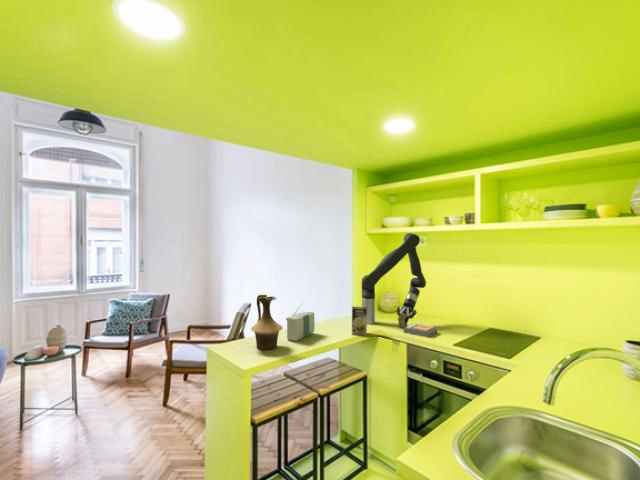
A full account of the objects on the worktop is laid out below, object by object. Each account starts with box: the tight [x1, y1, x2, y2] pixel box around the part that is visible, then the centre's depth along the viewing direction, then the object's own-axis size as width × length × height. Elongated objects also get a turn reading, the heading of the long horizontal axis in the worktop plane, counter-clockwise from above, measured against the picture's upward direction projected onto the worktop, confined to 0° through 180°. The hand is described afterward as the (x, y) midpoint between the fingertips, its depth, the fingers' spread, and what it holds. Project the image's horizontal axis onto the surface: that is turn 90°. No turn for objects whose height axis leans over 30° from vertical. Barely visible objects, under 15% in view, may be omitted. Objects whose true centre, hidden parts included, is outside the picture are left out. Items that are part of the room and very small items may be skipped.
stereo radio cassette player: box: [285, 302, 316, 342], centre depth 191 cm, size 21×8×20 cm, turn 152°
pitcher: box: [250, 294, 284, 351], centre depth 171 cm, size 18×17×28 cm
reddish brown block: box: [398, 312, 408, 330], centre depth 211 cm, size 4×4×9 cm
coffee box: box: [351, 306, 368, 336], centre depth 197 cm, size 9×6×16 cm
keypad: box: [403, 322, 438, 338], centre depth 199 cm, size 16×13×4 cm
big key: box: [413, 324, 435, 332], centre depth 198 cm, size 9×11×2 cm
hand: (402, 321), depth 210 cm, fingers closed on reddish brown block, 4 cm apart
